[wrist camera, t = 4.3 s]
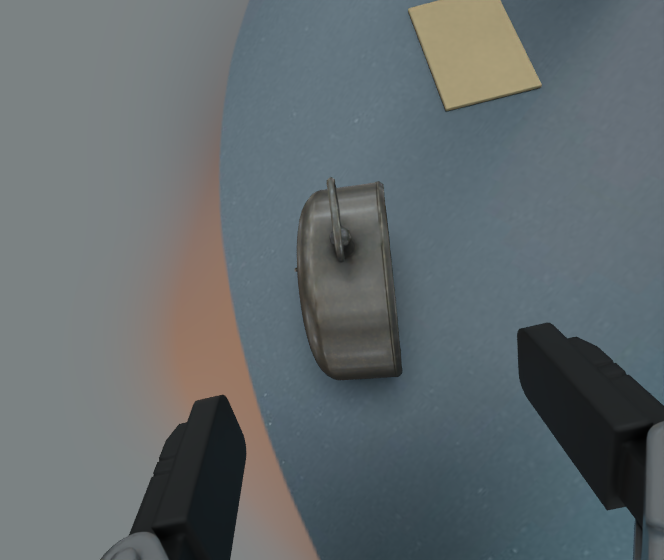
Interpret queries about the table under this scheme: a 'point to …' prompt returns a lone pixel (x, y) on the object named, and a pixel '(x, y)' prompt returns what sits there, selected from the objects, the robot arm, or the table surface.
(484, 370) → the table surface
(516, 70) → the mat
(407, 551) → the table surface
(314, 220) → the alarm clock
